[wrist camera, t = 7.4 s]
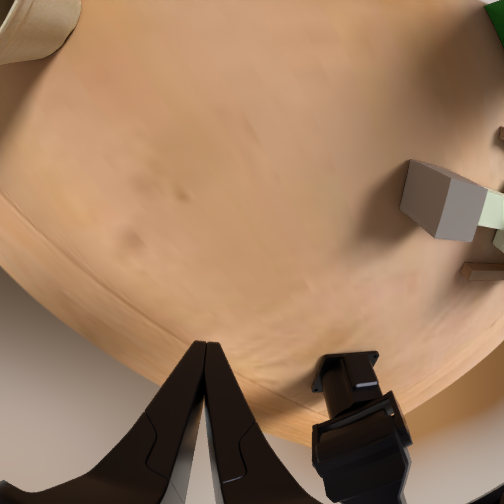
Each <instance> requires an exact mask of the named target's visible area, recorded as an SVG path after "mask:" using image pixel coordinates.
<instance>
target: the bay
mask: <svg viewBox="0 0 504 504" xmlns="http://www.w3.org/2000/svg"><path fill="white" fill-rule="evenodd" d="M499 139H501V140H503V141H504V127H501V129H500V136H499ZM460 273H461V274H462V275H463V276H464V277H465V278H466V279H467V280H468V281H483V280H504V264H484V263H464V265H463V268H462V270H461V272H460Z"/></svg>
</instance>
